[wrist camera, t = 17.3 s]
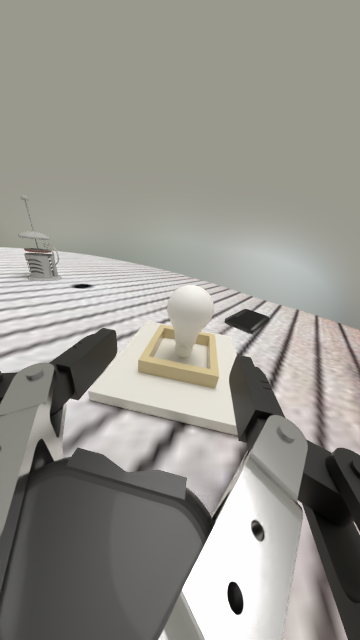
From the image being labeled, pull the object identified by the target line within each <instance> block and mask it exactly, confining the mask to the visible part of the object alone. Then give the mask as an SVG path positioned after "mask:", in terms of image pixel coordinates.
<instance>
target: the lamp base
mask: <svg viewBox="0 0 360 640" xmlns="http://www.w3.org/2000/svg"><path fill="white" fill-rule="evenodd" d="M175 344H176V342H175V332H174V327H173V326H171V325H166V324H160V323H155V322H149V321H146V323H145V324H144V325H143V326H142V327H141V329H140V330H139V331H138V332H137V333H136V335H135V336H134V337H133V338H132V339H131V340H130V342H129V343H128V344H127V345H126V346H125V348H124V349H123V350H122V351H121V352H120V354H119V355H118V356H117V357H116V358H115V360H114V361H113V362H112V363H111V364H110V366H109V367H108V368H107V369H106V370H105V371H104V373H103V374H102V375H101V376H100V377H99V379H98V380H97V381H96V382H95V383H94V385H93V386H92V387H91V388H90V389H89V391H88V393H89V397H90V400H92V401H96V402H100V403H104V404H108V405H112V406H117V407H121V408H125V409H129V410H133V411H137V412H141V413H146V414H150V415H154V416H158V417H162V418H166V419H170V420H175V421H179V422H183V423H187V424H191V425H195V426H200V427H204V428H208V429H212V430H216V431H220V432H224V433H229V434H233V435H237V436H238V433H237V427H236V421H235V415H234V409H233V403H232V397H231V391H230V386H229V375H230V372H231V369H232V366H233V363H234V361H235V358H236V356H237V354H236V350H235V347H234V344H233V340H232V337H231V336H226V335H220V334H215V333H209V332H204V331H201V332H200V333H199V335H198V337H197V339H196V343H195V344H194V345H193V349H192V352H191V355H190V356H188V357H180V356H178V355H177V354H176V352H175Z"/></svg>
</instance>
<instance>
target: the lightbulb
mask: <svg viewBox="0 0 360 640" xmlns="http://www.w3.org/2000/svg"><path fill="white" fill-rule="evenodd" d="M167 310H168V316H169V318H170V321H171V323H172V325H173V327H174V332H175V342H176V344H175V352H176V354H177V355H178V356H180V357H188V356H190V355H191V352H192V349H193V345H194V344H195V343H196V339H197V337H198V335H199V333H200V332H201V330H202V329H203V328H204V327H205V326H206V325H207V324H208V323H209V322H210V320H211V318H212V316H213V312H214V305H213V301H212V298H211V296H210V295H209V293H208V292H207V291H206V290H204V289H203V288H201V287H198V286H195V285H186V286H183V287H181V288H179V289H177V290H176V291H175V292H174V293H173V294H172V295H171V297H170V299H169V301H168V305H167Z"/></svg>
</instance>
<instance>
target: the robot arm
mask: <svg viewBox="0 0 360 640" xmlns="http://www.w3.org/2000/svg"><path fill="white" fill-rule="evenodd" d="M116 353H117V339H116V331H115V330H111V329H106V328H102V329H101V330H99V331H98V332H97V333H95V334H92V335H89V336H87V337H85V338H83V339H82V340H80V341H79V342H78V343H76V344H75V345H74V346H73V347H71V348H69V349H68V350H67V351H65V352H64V353H63V354H61V355H60V356H58V357H57V358H56V359H54V360H53V361H52V362H50V363H39V364H34V365H31V366H29V367H27V368H25V369H23V370H21V371H20V372H18V373H1V371H0V640H282V639H283V633H284V627H285V621H286V615H287V610H288V604H289V598H290V592H291V586H292V580H293V574H294V568H295V562H296V556H297V550H298V544H299V538H300V532H301V526H302V520H303V512H302V508H301V506H300V505H299V504H298V502H297V500H298V501H300V502H301V503H302V505H303V507H304V510H305V513H306V516H307V519H308V522H309V525H310V528H311V531H312V534H313V537H314V540H315V543H316V546H317V549H318V552H319V555H320V558H321V561H322V564H323V567H324V570H325V573H326V576H327V579H328V582H329V585H330V588H331V591H332V594H333V597H334V600H335V602H336V605H337V608H338V611H339V614H340V617H341V620H342V623H343V626H344V629H345V632H346V635H347V638H348V640H360V535H359V533H358V531H357V529H356V527H355V525H354V523H353V522H355V523H356V525H357V527H358V529H359V531H360V455H358V454H357V453H355V452H353V451H351V450H348V449H345V448H337V449H336V450H335V451H334V452H333V453H331V452H329V451H327V450H325V449H323V448H321V447H319V446H317V445H316V444H314V443H312V442H310V441H308V440H306V438H305V436H304V435H303V433H302V432H301V431H300V429H299V428H298V427H297V426H296V425H295V424H294V423H292V422H291V421H290V420H288V419H286V418H285V416H284V414H283V412H282V410H281V408H280V406H279V403H278V401H277V399H276V397H275V395H274V393H273V391H272V388H271V386H270V384H269V382H268V380H267V378H266V375H265V374H264V373H263V372H262V371H261V370H260V369H259V368H258V367H254V364H253V362H252V359H251V358H250V357H245V356H240V355H237V356H236V358H235V361H234V363H233V366H232V369H231V372H230V375H229V386H230V391H231V397H232V403H233V409H234V415H235V421H236V427H237V433H238V439H239V441H243V442H247V446H248V451H247V453H246V455H245V456H244V458H243V460H242V462H241V464H240V466H239V468H238V470H237V471H236V473H235V475H234V477H233V479H232V481H231V483H230V485H229V486H228V488H227V490H226V492H225V494H224V495H223V497H222V499H221V500H220V502H219V504H218V506H217V508H216V510H215V511H214V513H213V515H212V517H211V515H210V514H209V512H208V511H207V509H206V508H205V506H204V505H203V503H202V502H201V501H200V500H199V499H198V497H197V496H196V495H195V494H193V493H192V492H191V491H190V490H189V489H187V488H186V481H187V478H186V477H182V476H179V475H175V474H171V473H168V472H164V471H161V470H152V471H139V472H126V471H124V470H123V469H121V468H120V467H119V466H117V465H116V464H115V463H113V462H112V461H111V460H109V459H108V458H107V457H105V456H104V455H102V454H99V453H95V452H92V451H88V450H84V449H81V448H77V449H76V451H75V452H74V454H73V455H72V457H68V458H63V450H62V438H63V429H64V421H65V413H66V402H67V401H68V400H69V399H70V398H71V399H75V400H79V399H80V398H81V397H82V396H83V394H84V393H85V392H86V391H87V390H88V388H89V387H90V386H91V385H92V384H93V383H94V381H95V380H96V379H97V378H98V377H99V375H100V374H101V373H102V372H103V371H104V370H105V368H106V367H107V366H108V365H109V364H110V362H111V361H112V360H113V359H114V358H115V356H116Z"/></svg>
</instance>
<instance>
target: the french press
mask: <svg viewBox="0 0 360 640" xmlns="http://www.w3.org/2000/svg"><path fill="white" fill-rule="evenodd" d="M21 199H23V200H25V203H26V200H27V201H29V198H28V197H27V196H25V195H21ZM26 207H27V204H26ZM27 211H28V207H27ZM28 214H29V212H28ZM29 218H30V215H29ZM30 222H31V219H30ZM31 226H32V224H31ZM32 230H33V227H32ZM18 236H19V237H22V238H30V239H35V241H36V239H41V240H49V239H50V238H49V237H47V236H46V235H44V234H42V233H38V232H35V231H34V230H33V231H29V232H23V233H20V234H19V235H18ZM45 244H46V243H44V246H45ZM49 244H50V243H49ZM49 244H48V245H47V246H48V247H49ZM36 245H37V242H36ZM50 245H52V244H50ZM48 247H47V248H48ZM53 247H54V246H53ZM49 248H50V247H49ZM50 249H51V248H50ZM24 250H25V251H29V252H41V253H25V258H26V261H27V260H28V262H27V265H28V264H29V266H28V268H30V270H29V271H30V272H31V276H29V277H28V279H30V280H35V281H53V280H59V279H61V278H62V277H60V276H59V275H58V273H57V269H56V264H57V263H58V262H57V263H56V264H55V260H54V254H53V251H52V250H44V249H39V248H38V246H37V249H34V248H29V249H28V248H25V249H24ZM55 250H56V249H55ZM51 251H52V254H53V255H51V254H43V253H48V252H51ZM56 252H57V250H56ZM57 256H58V253H57ZM49 258H51V260H49ZM58 261H59V257H58ZM50 262H52V263H51V264H50ZM51 265H52V266H53V267H51ZM51 269H53V270H52V271H51Z"/></svg>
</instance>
